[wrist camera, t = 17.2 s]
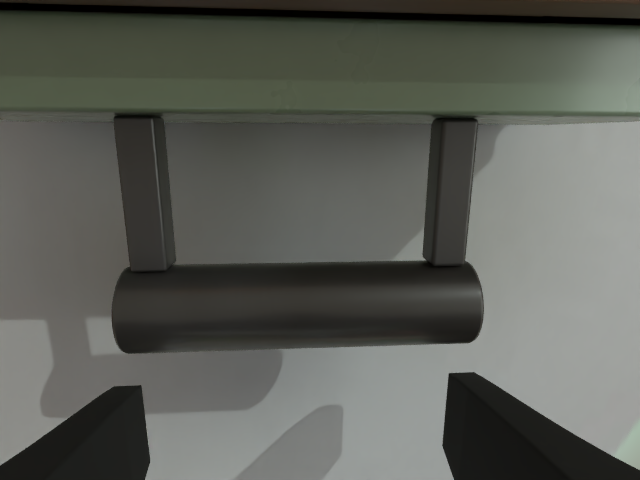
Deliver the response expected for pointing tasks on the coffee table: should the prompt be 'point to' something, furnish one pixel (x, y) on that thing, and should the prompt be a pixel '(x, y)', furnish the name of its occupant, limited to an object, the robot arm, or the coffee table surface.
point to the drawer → (305, 107)
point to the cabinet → (369, 9)
